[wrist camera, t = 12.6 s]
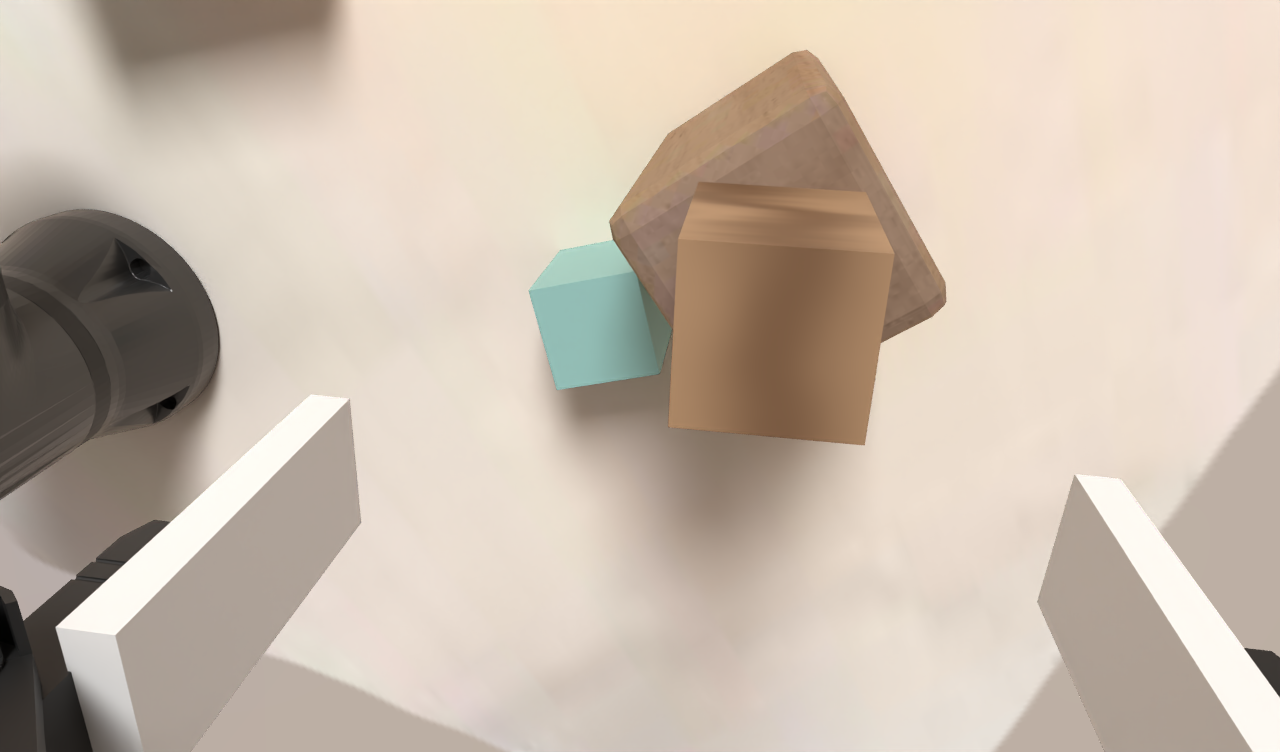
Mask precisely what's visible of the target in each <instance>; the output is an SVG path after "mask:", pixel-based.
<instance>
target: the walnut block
mask: <svg viewBox="0 0 1280 752" xmlns="http://www.w3.org/2000/svg"><path fill="white" fill-rule="evenodd" d="M894 255H895V254H894V251H893V249H892V247H891V245H890V243H889V241H888V239H887V236H886V234H885V232H884V230H883V228H882V226H881V223H880V221H879V219H878V217H877V215H876V213H875V211H874V208H873V206H872V204H871V202H870V200H869V198H868V195H867V193H866V192H857V191H841V190H825V189H809V188H793V187H776V186H760V185H744V184H728V183H712V182H698V185H697V188H696V190H695V193H694V196H693V199H692V202H691V204H690V207H689V210H688V213H687V215H686V218H685V221H684V224H683V227H682V229H681V232H680V235H679V238H678V250H677V269H676V288H675V306H674V325H673V344H672V363H671V381H670V400H669V419H668V427H672V428H683V429H694V430H704V431H715V432H726V433H737V434H748V435H759V436H769V437H780V438H791V439H802V440H813V441H824V442H835V443H845V444H856V445H865V439H866V433H867V426H868V420H869V414H870V407H871V401H872V395H873V388H874V382H875V375H876V369H877V363H878V356H879V350H880V344H881V337H882V331H883V325H884V318H885V312H886V306H887V299H888V293H889V286H890V280H891V274H892V267H893V261H894Z"/></svg>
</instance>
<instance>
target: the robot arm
mask: <svg viewBox="0 0 1280 752" xmlns="http://www.w3.org/2000/svg"><path fill="white" fill-rule="evenodd" d="M217 357H218V330H217V324H216V319H215V316H214V312H213V309H212V306H211V303H210V301H209V299H208V296H207V294H206V292H205V290H204V288H203V286H202V285H201V283H200V281H199V280H198V278H197V277H196V275H195V274H194V272H193V271H192V269H191V268H190V267H189V265H188V264H187V263H186V262H185V261H184V260H183V258H182V257H181V256H180V255H179V254H178V253H177V252H176V251H175V250H174V249H173V248H172V247H171V246H170V245H168V244H167V243H166V242H165V241H164V240H162V239H161V238H160V237H158V236H157V235H156V234H154V233H153V232H151V231H150V230H148V229H147V228H145V227H143V226H141V225H140V224H138V223H136V222H133V221H131V220H129V219H127V218H124V217H122V216H119V215H116V214H112V213H108V212H104V211H98V210H86V209H80V210H69V211H64V212H60V213H57V214H54V215H51V216H48V217H45V218H42V219H39V220H36V221H33V222H30V223H28V224H26V225H24V226H23V227H21V228H19V229H17V230H16V231H14V232H13V233H12V234H11V235H9V236H8V237H7V238H6V239H5V240H4V241H3V242H2V244H1V245H0V500H1V499H3V498H4V497H6V496H7V495H8V494H10V493H11V492H13V491H14V490H16V489H17V488H19V487H20V486H22V485H23V484H25V483H26V482H28V481H29V480H30V479H32V478H33V477H35V476H36V475H38V474H39V473H41V472H42V471H44V470H45V469H47V468H48V467H50V466H51V465H53V464H54V463H55V462H57V461H58V460H60V459H61V458H63V457H64V456H66V455H67V454H69V453H70V452H72V451H73V450H74V449H75V448H77V447H79V446H80V445H82V444H83V443H85V442H86V441H88V440H89V439H93V438H97V437H102V436H106V435H111V434H115V433H120V432H124V431H128V430H133V429H137V428H142V427H146V426H150V425H153V424H156V423H158V422H160V421H163V420H165V419H167V418H169V417H170V416H172V415H174V414H175V413H176V412H178V411H179V410H181V409H182V408H183V407H185V406H186V405H188V404H189V403H190V402H192V401H193V400H194V399H195V398H197V397H198V396H199V395H200V394H201V392H202V391H203V390H204V389H205V387H206V386H207V384H208V383H209V381H210V379H211V377H212V375H213V372H214V369H215V366H216V362H217ZM360 523H361V516H360V505H359V494H358V484H357V473H356V462H355V451H354V441H353V430H352V419H351V408H350V399H348V398H338V397H329V396H319V395H310V396H308V397H307V398H306V399H305V400H304V401H303V402H302V403H301V404H300V405H299V406H298V407H296V408H295V409H294V410H293V411H292V412H291V413H290V414H289V415H288V416H287V417H285V418H284V419H283V420H282V421H281V422H280V423H279V424H278V425H277V426H276V427H275V428H273V429H272V430H271V431H270V432H269V433H268V434H267V435H266V436H265V437H264V438H262V439H261V440H260V441H259V442H258V443H257V444H256V445H255V446H254V447H253V448H251V449H250V450H249V451H248V452H247V453H246V454H245V455H244V456H243V457H242V458H241V459H239V460H238V461H237V462H236V463H235V464H234V465H233V466H232V467H231V468H230V469H228V470H227V471H226V472H225V473H224V474H223V475H222V476H221V477H220V478H219V479H217V480H216V481H215V482H214V483H213V484H212V485H211V486H210V487H209V488H208V489H207V490H205V491H204V492H203V493H202V494H201V495H200V496H199V497H198V498H197V499H196V500H194V501H193V502H192V503H191V504H190V505H189V506H188V507H187V508H186V509H185V510H184V511H182V512H181V513H180V514H179V515H178V516H177V517H176V518H175V519H174V520H173V521H171V522H167V521H158V520H153V521H151V522H149V523H147V524H145V525H143V526H141V527H139V528H137V529H136V530H134V531H132V532H130V533H128V534H126V535H124V536H122V537H120V538H119V539H118V540H117V541H116V542H114V543H113V544H112V545H111V546H110V547H109V548H107V549H106V550H105V551H104V552H103V553H102V554H100V555H99V556H98V557H97V558H96V562H95V563H94V562H91V563H90V564H89V565H88V566H87V567H85V568H84V569H83V570H82V571H81V572H80V573H78V574H77V577H76V579H75V580H70V581H69V582H68V583H67V584H66V585H65V586H63V587H62V588H61V589H60V590H59V591H58V592H57V593H55V594H54V595H53V596H52V597H51V598H50V599H48V600H47V601H46V602H45V603H44V604H43V605H42V606H40V607H39V608H38V609H37V610H36V611H35V612H33V613H32V614H31V615H30V616H29V617H28V618H26V619H25V620H24V621H23V619H22V616H21V612H20V609H19V606H18V602H17V600H16V598H15V596H14V594H13V592H12V591H11V590H9V589H6V588H4V587H2V586H0V752H191V751H192V750H193V748H194V747H195V746H196V744H197V743H198V742H199V740H200V739H201V737H202V736H203V735H204V733H205V732H206V731H207V729H208V728H209V727H210V725H211V724H212V723H213V721H214V720H215V719H216V717H217V716H218V715H219V713H220V712H221V710H222V709H223V708H224V707H225V705H226V704H227V703H228V701H229V700H230V698H231V697H232V696H233V694H234V693H235V692H236V690H237V689H238V688H239V686H240V685H241V684H242V682H243V681H244V680H245V678H246V677H247V676H248V674H249V673H250V672H251V670H252V669H253V667H254V666H255V665H256V663H257V662H258V661H259V659H260V658H261V657H262V655H263V654H264V653H265V651H266V650H267V649H268V647H269V646H270V645H271V643H272V642H273V641H274V639H275V638H276V636H277V635H278V634H279V632H280V631H281V630H282V628H283V627H284V626H285V624H286V623H287V622H288V620H289V619H290V618H291V616H292V615H293V614H294V612H295V611H296V610H297V608H298V607H299V605H300V604H301V603H302V601H303V600H304V599H305V597H306V596H307V595H308V593H309V592H310V591H311V589H312V588H313V587H314V585H315V584H316V583H317V581H318V580H319V579H320V577H321V576H322V574H323V573H324V572H325V570H326V569H327V568H328V566H329V565H330V564H331V562H332V561H333V560H334V558H335V557H336V556H337V554H338V553H339V552H340V550H341V549H342V548H343V546H344V545H345V543H346V542H347V541H348V539H349V538H350V537H351V535H352V534H353V533H354V531H355V530H356V529H357V527H358V526H359V525H360ZM1037 602H1038V605H1039V607H1040V609H1041V611H1042V613H1043V616H1044V618H1045V620H1046V622H1047V625H1048V627H1049V629H1050V631H1051V634H1052V636H1053V638H1054V640H1055V642H1056V645H1057V647H1058V649H1059V651H1060V654H1061V656H1062V658H1063V660H1064V663H1065V665H1066V667H1067V669H1068V671H1069V674H1070V676H1071V678H1072V680H1073V682H1074V685H1075V687H1076V689H1077V691H1078V694H1079V696H1080V698H1081V700H1082V703H1083V705H1084V707H1085V709H1086V711H1087V714H1088V716H1089V718H1090V721H1091V723H1092V725H1093V727H1094V730H1095V732H1096V734H1097V736H1098V738H1099V740H1100V743H1101V745H1102V747H1103V750H1104V752H1280V657H1278V656H1277V655H1276V654H1275V653H1273V652H1272V651H1265V650H1256V649H1248V648H1243V646H1242V645H1241V644H1240V642H1239V641H1238V640H1237V638H1236V637H1235V635H1234V634H1233V633H1232V631H1231V630H1230V629H1229V627H1228V626H1227V624H1226V623H1225V622H1224V621H1223V619H1222V618H1221V616H1220V615H1219V614H1218V612H1217V611H1216V609H1215V608H1214V607H1213V605H1212V604H1211V602H1210V601H1209V600H1208V598H1207V597H1206V596H1205V594H1204V593H1203V591H1202V590H1201V589H1200V587H1199V586H1198V585H1197V583H1196V582H1195V580H1194V579H1193V578H1192V577H1191V575H1190V574H1189V572H1188V571H1187V570H1186V568H1185V567H1184V566H1183V564H1182V563H1181V561H1180V560H1179V558H1178V557H1177V556H1176V554H1175V553H1174V552H1173V550H1172V549H1171V548H1170V546H1169V545H1168V543H1167V542H1166V541H1165V539H1164V538H1163V537H1162V535H1161V534H1160V532H1159V531H1158V530H1157V528H1156V527H1155V526H1154V524H1153V523H1152V521H1151V520H1150V519H1149V517H1148V516H1147V515H1146V513H1145V512H1144V510H1143V509H1142V508H1141V506H1140V505H1139V504H1138V502H1137V501H1136V499H1135V498H1134V497H1133V495H1132V494H1131V493H1130V491H1129V490H1128V488H1127V487H1126V486H1125V484H1124V483H1123V482H1122V480H1121V479H1117V478H1108V477H1098V476H1088V475H1079V474H1075V475H1074V478H1073V482H1072V485H1071V488H1070V492H1069V495H1068V499H1067V502H1066V505H1065V509H1064V512H1063V516H1062V519H1061V522H1060V526H1059V529H1058V533H1057V536H1056V540H1055V543H1054V546H1053V550H1052V553H1051V557H1050V560H1049V563H1048V567H1047V570H1046V574H1045V577H1044V580H1043V584H1042V587H1041V591H1040V594H1039V597H1038V601H1037Z"/></svg>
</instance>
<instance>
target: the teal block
mask: <svg viewBox="0 0 1280 752" xmlns="http://www.w3.org/2000/svg"><path fill="white" fill-rule="evenodd" d="M529 294H530V297H531V301H532V304H533V308H534V311H535V315H536V318H537V322H538V325H539V329H540V332H541V336H542V339H543V343H544V346H545V350H546V353H547V357H548V361H549V364H550V368H551V371H552V375H553V378H554V382H555V385H556V389H557V390H560V389H567V388H573V387H580V386H586V385H593V384H599V383H605V382H612V381H618V380H625V379H631V378H638V377H644V376H650V375H657V374H660V372H661V368H662V364H663V361H664V357H665V354H666V350H667V347H668V343H669V339H670V336H671V332H672V328H671V327H670V325H669V324H668V322H667V321H666V319H665V318H664V316H663V315H662V313H661V312H660V310H659V308H658V307H657V305H656V304H655V302H654V301H653V299H652V298H651V296H650V295H649V293H648V292H647V290H646V289H645V287H644V286H643V284H642V283H641V281H640V280H639V278H638V277H637V275H636V274H635V272H634V271H633V269H632V268H631V266H630V265H629V263H628V262H627V260H626V259H625V257H624V256H623V254H622V253H621V251H620V250H619V248H618V247H617V245H616V244H615V242H614V241H613V240H612V241H606V242H601V243H596V244H591V245H585V246H580V247H575V248H570V249H564V250H560V251H559V252H558V254H557V255H556V256H555V258H554V259H553V260H552V261H551V263H550V264H549V265H548V266H547V268H546V269H545V270H544V272H543V273H542V274H541V275H540V277H539V278H538V279H537V281H536V282H535V283H534V284H533V286H532V287H531V288H530V289H529Z"/></svg>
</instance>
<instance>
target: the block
mask: <svg viewBox="0 0 1280 752" xmlns="http://www.w3.org/2000/svg"><path fill="white" fill-rule="evenodd" d="M698 182H712V183H728V184H744V185H760V186H776V187H793V188H809V189H825V190H841V191H857V192H866V193H867V195H868V198H869V200H870V202H871V204H872V206H873V208H874V211H875V213H876V215H877V217H878V219H879V221H880V223H881V226H882V228H883V230H884V232H885V234H886V236H887V239H888V241H889V243H890V245H891V247H892V249H893V251H894V254H895V255H894V261H893V267H892V274H891V280H890V286H889V293H888V299H887V306H886V312H885V318H884V325H883V331H882V337H881V343H882V342H884V341H886V340H888V339H890V338H891V337H893V336H895V335H897V334H899V333H901V332H903V331H905V330H907V329H909V328H911V327H913V326H915V325H917V324H919V323H921V322H923V321H925V320H927V319H929V318H931V317H932V316H933V315H934V314H935V313H937V312H938V311H939V310H940V309H941V308H942V307H943V306H944V305H945V303H946V287H945V281H944V279H943V277H942V276H941V274H940V272H939V270H938V268H937V266H936V265H935V263H934V261H933V259H932V257H931V256H930V254H929V252H928V250H927V248H926V246H925V245H924V243H923V241H922V239H921V237H920V235H919V234H918V232H917V230H916V228H915V226H914V224H913V223H912V221H911V219H910V217H909V215H908V214H907V212H906V210H905V208H904V206H903V204H902V203H901V201H900V199H899V197H898V195H897V193H896V192H895V190H894V188H893V186H892V184H891V183H890V181H889V179H888V177H887V175H886V173H885V172H884V170H883V168H882V166H881V164H880V162H879V161H878V159H877V157H876V155H875V153H874V152H873V150H872V148H871V146H870V144H869V142H868V141H867V139H866V137H865V135H864V133H863V131H862V130H861V128H860V126H859V124H858V122H857V121H856V119H855V117H854V115H853V113H852V111H851V110H850V108H849V106H848V104H847V102H846V100H845V99H844V97H843V95H842V94H841V92H840V91H839V89H838V88H837V86H836V85H835V83H834V82H833V80H832V79H831V77H830V76H829V74H828V73H827V71H826V70H825V68H824V67H823V65H822V64H821V62H820V61H819V59H818V58H817V57H815V56H814V55H813V54H812V53H810V52H809V51H808V50H804V51H799V52H794V53H791V54H790V55H788V56H787V57H785V58H784V59H782V60H781V61H779V62H778V63H776V64H774V65H773V66H771V67H770V68H768V69H767V70H765V71H764V72H762V73H761V74H759V75H758V76H756V77H755V78H753V79H751V80H750V81H748V82H747V83H745V84H744V85H742V86H741V87H739V88H738V89H736V90H735V91H733V92H732V93H730V94H728V95H727V96H725V97H724V98H722V99H721V100H719V101H718V102H716V103H715V104H713V105H712V106H710V107H708V108H707V109H705V110H704V111H702V112H701V113H699V114H698V115H696V116H695V117H693V118H692V119H690V120H689V121H687V122H685V123H684V124H682V125H681V126H679V127H678V128H676V129H675V130H673V131H672V132H670V133H669V134H668V135H667V136H666V138H665V139H664V141H663V142H662V144H661V145H660V147H659V148H658V150H657V151H656V153H655V154H654V156H653V157H652V159H651V160H650V162H649V163H648V164H647V166H646V167H645V169H644V170H643V172H642V173H641V175H640V176H639V178H638V179H637V181H636V182H635V184H634V185H633V187H632V188H631V190H630V191H629V193H628V194H627V196H626V197H625V199H624V200H623V202H622V203H621V204H620V206H619V207H618V209H617V210H616V212H615V213H614V215H613V216H612V218H611V219H610V221H609V222H610V227H611V232H612V237H613V241H614V242H615V244H616V245H617V247H618V248H619V250H620V251H621V253H622V254H623V256H624V257H625V259H626V260H627V262H628V263H629V265H630V266H631V268H632V269H633V271H634V272H635V274H636V275H637V277H638V278H639V280H640V281H641V283H642V284H643V286H644V287H645V289H646V290H647V292H648V293H649V295H650V296H651V298H652V299H653V301H654V302H655V304H656V305H657V307H658V308H659V310H660V312H661V313H662V315H663V316H664V318H665V319H666V321H667V322H668V324H669V325H670V327H671V328H672V330H673V325H674V306H675V288H676V269H677V250H678V238H679V235H680V232H681V229H682V227H683V224H684V221H685V218H686V215H687V213H688V210H689V207H690V204H691V202H692V199H693V196H694V193H695V190H696V188H697V185H698Z"/></svg>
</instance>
